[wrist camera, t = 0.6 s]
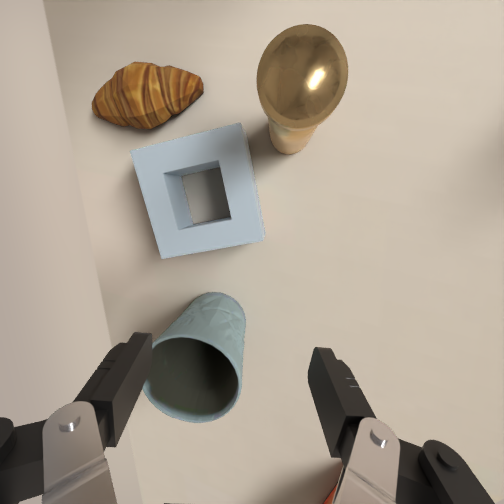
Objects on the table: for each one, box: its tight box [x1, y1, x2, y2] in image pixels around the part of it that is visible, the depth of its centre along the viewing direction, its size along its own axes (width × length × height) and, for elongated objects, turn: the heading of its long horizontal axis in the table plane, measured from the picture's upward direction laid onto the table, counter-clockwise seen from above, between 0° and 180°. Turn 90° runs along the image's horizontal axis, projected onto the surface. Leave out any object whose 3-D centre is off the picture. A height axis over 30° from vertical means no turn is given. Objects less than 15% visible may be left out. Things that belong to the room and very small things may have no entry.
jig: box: [130, 123, 265, 259], centre depth 28 cm, size 12×12×5 cm
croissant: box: [92, 62, 203, 129], centre depth 27 cm, size 14×7×5 cm, turn 100°
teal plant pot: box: [142, 292, 246, 423], centre depth 29 cm, size 10×10×12 cm
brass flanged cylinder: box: [257, 24, 348, 154], centre depth 21 cm, size 5×5×14 cm
